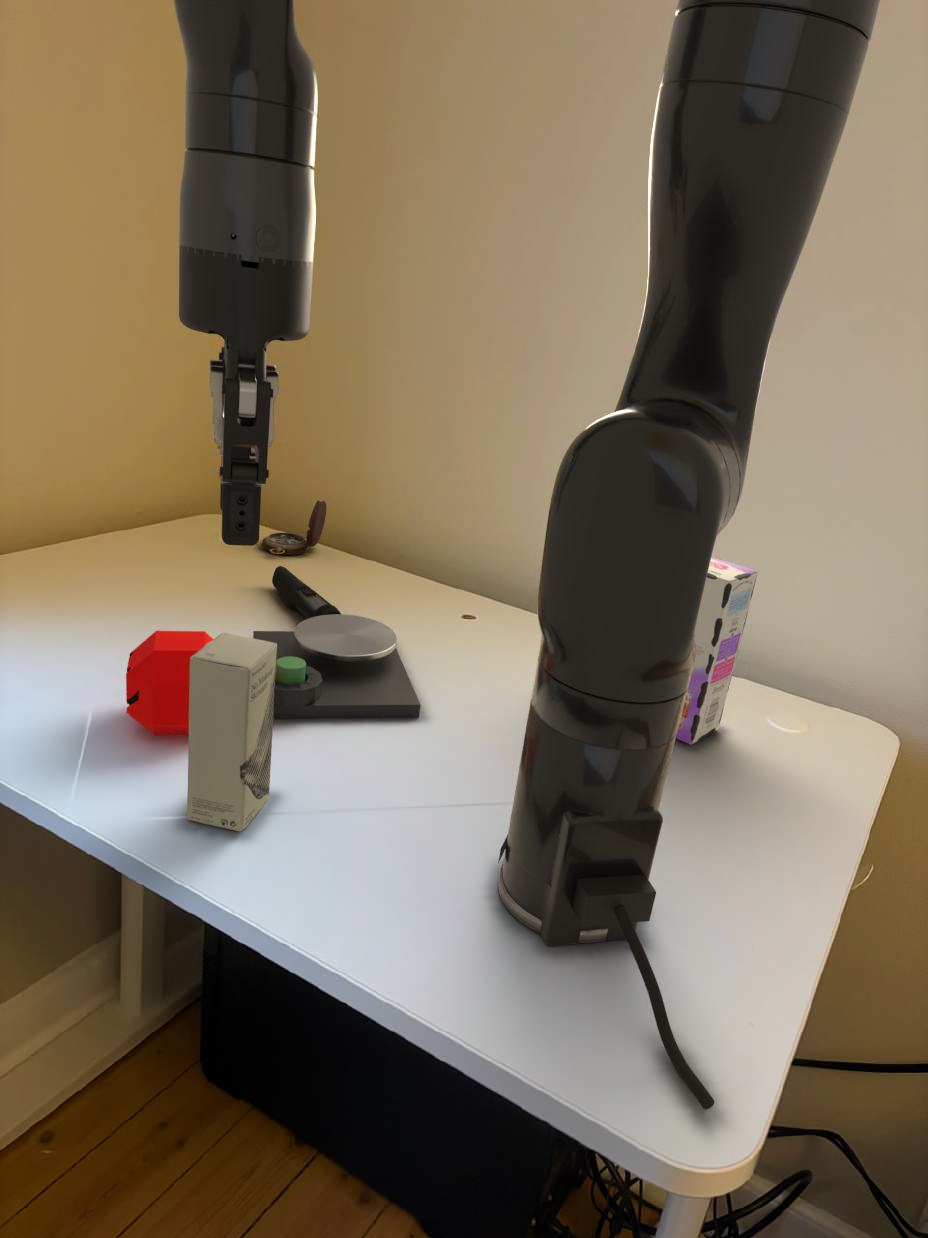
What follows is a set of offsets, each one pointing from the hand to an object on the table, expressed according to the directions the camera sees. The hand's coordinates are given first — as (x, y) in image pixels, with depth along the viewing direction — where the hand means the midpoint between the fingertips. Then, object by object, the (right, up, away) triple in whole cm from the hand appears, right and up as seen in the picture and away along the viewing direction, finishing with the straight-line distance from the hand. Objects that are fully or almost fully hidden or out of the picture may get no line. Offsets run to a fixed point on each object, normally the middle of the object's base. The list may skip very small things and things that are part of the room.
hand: (238, 526), depth 59 cm
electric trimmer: (-3, -6, +43) cm, 44 cm away
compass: (-8, +3, +62) cm, 63 cm away
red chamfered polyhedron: (-9, -15, +18) cm, 26 cm away
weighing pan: (+3, -8, +31) cm, 32 cm away
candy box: (+32, -15, +32) cm, 48 cm away
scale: (+2, -12, +29) cm, 32 cm away
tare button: (-1, -11, +22) cm, 25 cm away
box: (-3, -20, +8) cm, 22 cm away
